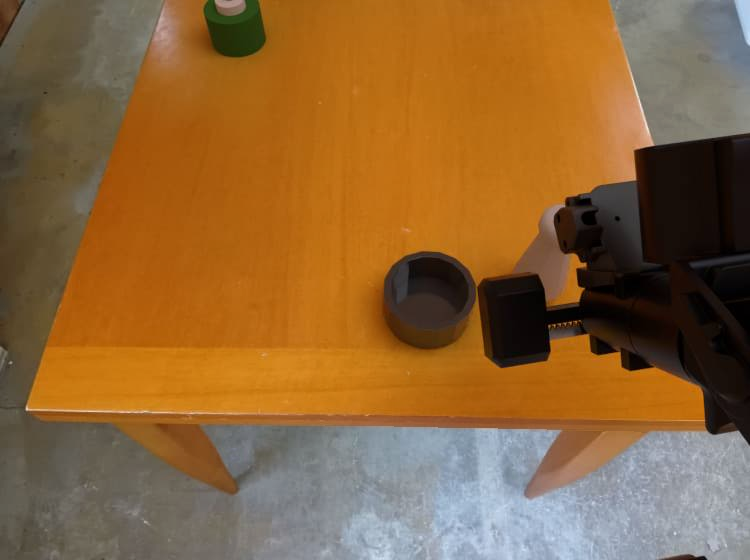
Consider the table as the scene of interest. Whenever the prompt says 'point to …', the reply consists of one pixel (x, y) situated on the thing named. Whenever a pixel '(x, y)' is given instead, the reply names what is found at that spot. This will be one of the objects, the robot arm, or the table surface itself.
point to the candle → (235, 26)
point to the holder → (428, 299)
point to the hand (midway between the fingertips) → (562, 290)
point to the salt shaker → (546, 256)
